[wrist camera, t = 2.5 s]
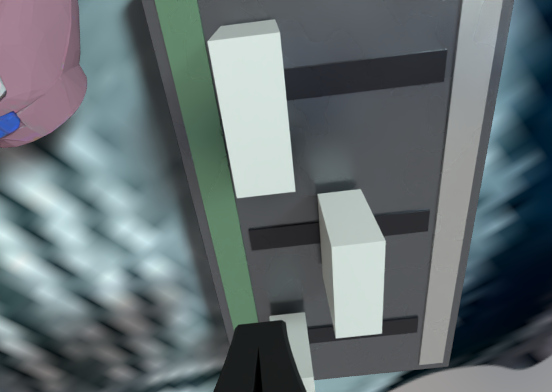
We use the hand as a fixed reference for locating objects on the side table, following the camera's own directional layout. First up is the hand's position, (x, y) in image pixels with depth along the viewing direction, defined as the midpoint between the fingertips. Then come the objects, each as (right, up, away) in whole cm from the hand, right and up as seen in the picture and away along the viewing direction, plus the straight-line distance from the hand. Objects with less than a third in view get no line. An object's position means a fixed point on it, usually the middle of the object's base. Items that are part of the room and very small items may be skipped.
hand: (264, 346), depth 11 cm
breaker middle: (+3, +3, +4) cm, 6 cm away
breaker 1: (0, +8, +1) cm, 8 cm away
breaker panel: (+3, +4, +6) cm, 7 cm away
